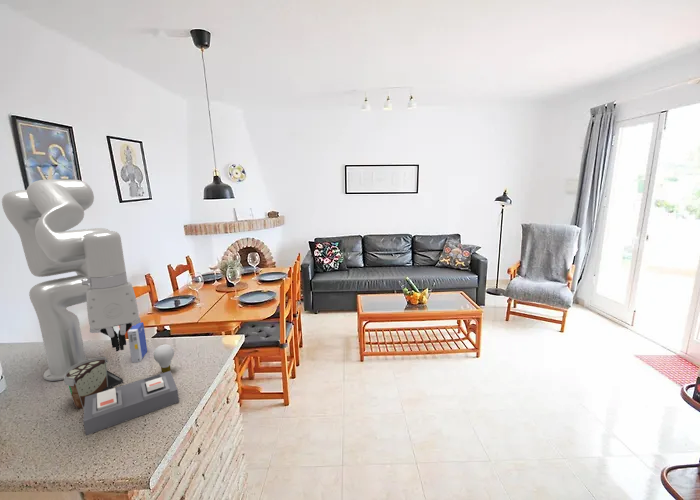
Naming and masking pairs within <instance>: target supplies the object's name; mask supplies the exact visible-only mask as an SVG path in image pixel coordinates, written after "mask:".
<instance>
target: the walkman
mask: <svg viewBox="0 0 700 500" xmlns="http://www.w3.org/2000/svg"><path fill="white" fill-rule="evenodd" d="M126 333H127V336H128V337H127V338H128V345H129V350H130V357H131V358H130V359H131V363H140V362H142V360H143V358H144V357H145V356H146V354H147V352H148V347H147V339H146V331H145V325H144V322H142V321H141V322H140V323H138V324H136V325H133V326H131V327H130V328H129V329H128V331H127V332H126Z"/></svg>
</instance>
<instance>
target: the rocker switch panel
mask: <svg viewBox="0 0 700 500" xmlns="http://www.w3.org/2000/svg"><path fill="white" fill-rule="evenodd" d="M160 377H162V380H163V382H164V387H161V388H158V389H155V390H152V391H149V392H148V391H147V387H146V382H147V381H150V380H153V379H157V378H160ZM114 388H115V389H116V398H117V405H114V406H111V407H108V408H105V409H102V410H99V411H98V408H97V393H96V394H93V395H90V396H86V397H85V404H84V408H83V420H82V421H83V426H84V432H85V436H88V435H91V434H94V433H96V432H100V431H103V430H105V429H107V428H111V427H113V426H116V425H118V424H122V423H124V422H127V421H130V420H132V419H135V418H139V417H140V416H141V417H142V416H144V415H146V414H149V413H153V412H154V411H158V410H161V409H163V408H165V407H169V406H171V405H174V404H177V403H180V398H179V391H178V390H179V389H178V387H177V384H176V381H175V379H174V376H173V373H172V371H171V370H170V371H168V372H165V373H162V372H161V373H159V374H155V375H152V376H149V377H147V378H146V377H145V378H143V379H138V380H135V381H133V382H129V383H126V384H123V385H120V386H119V385H118V386H115V387H114ZM108 389H109V388H108ZM109 390H110V389H109ZM99 393H100V392H99Z"/></svg>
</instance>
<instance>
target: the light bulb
mask: <svg viewBox="0 0 700 500" xmlns="http://www.w3.org/2000/svg"><path fill="white" fill-rule="evenodd" d="M174 355H175V349H174V348H173V346H172V345H170V344H167V343H164V344H160V345H158V346H157V347H156V348H155V349H154V352H153V359H154V360H155V362H157V363H158V365H159V367H160V370H161V374H162V373H165V372H168V371H171V370H172V369H171V368H172V367H171V365H172V360H173V358H174Z"/></svg>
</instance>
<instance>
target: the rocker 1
mask: <svg viewBox="0 0 700 500" xmlns="http://www.w3.org/2000/svg"><path fill="white" fill-rule="evenodd" d="M115 388H116V387H113V388H111V389H110V390H106V391H103V392H100V393H97V408H98V411H99V410H102V409H105V408H108V407H111V406H114V405H117V398H116V389H115Z"/></svg>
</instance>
